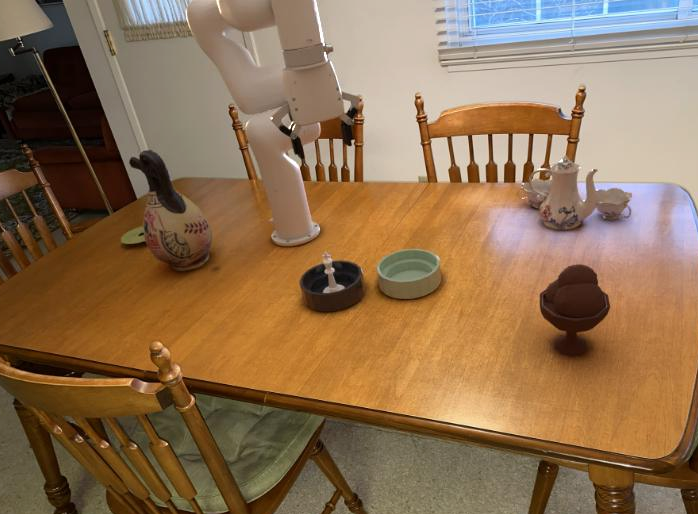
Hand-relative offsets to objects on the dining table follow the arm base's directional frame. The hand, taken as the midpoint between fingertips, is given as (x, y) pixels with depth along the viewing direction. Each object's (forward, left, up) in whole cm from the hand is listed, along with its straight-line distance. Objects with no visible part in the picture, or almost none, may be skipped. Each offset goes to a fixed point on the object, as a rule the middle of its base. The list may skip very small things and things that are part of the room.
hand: (324, 150), depth 107 cm
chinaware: (+28, +47, -29) cm, 62 cm away
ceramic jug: (-40, -17, -29) cm, 53 cm away
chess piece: (+2, -7, -29) cm, 30 cm away
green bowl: (+14, +5, -29) cm, 32 cm away
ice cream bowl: (+50, +4, -29) cm, 58 cm away
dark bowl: (+3, -7, -29) cm, 30 cm away
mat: (-67, -17, -29) cm, 75 cm away
